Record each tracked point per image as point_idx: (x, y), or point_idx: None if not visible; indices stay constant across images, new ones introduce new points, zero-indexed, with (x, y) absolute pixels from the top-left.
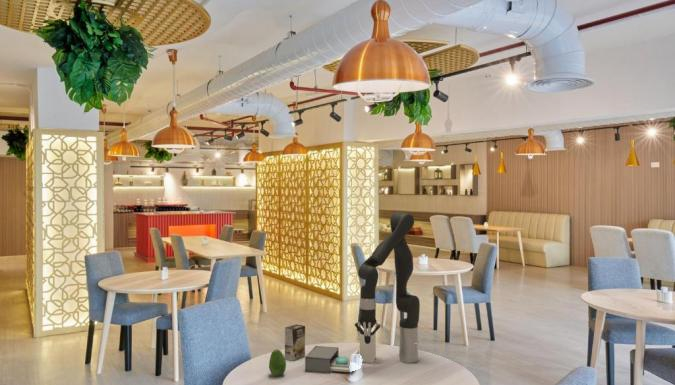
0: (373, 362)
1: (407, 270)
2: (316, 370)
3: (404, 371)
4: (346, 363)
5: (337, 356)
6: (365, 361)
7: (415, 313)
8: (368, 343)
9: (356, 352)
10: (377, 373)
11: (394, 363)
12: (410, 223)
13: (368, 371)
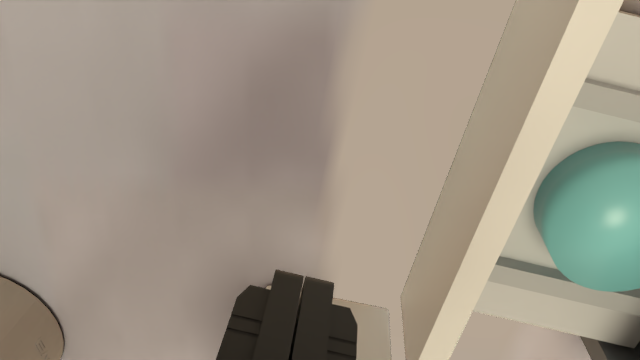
0: (269, 287)
1: None
2: None
3: None
4: (567, 169)
5: (611, 358)
6: (338, 303)
7: None
8: (277, 270)
9: (448, 309)
10: (228, 23)
11: (92, 270)
12: None
13: (322, 83)
